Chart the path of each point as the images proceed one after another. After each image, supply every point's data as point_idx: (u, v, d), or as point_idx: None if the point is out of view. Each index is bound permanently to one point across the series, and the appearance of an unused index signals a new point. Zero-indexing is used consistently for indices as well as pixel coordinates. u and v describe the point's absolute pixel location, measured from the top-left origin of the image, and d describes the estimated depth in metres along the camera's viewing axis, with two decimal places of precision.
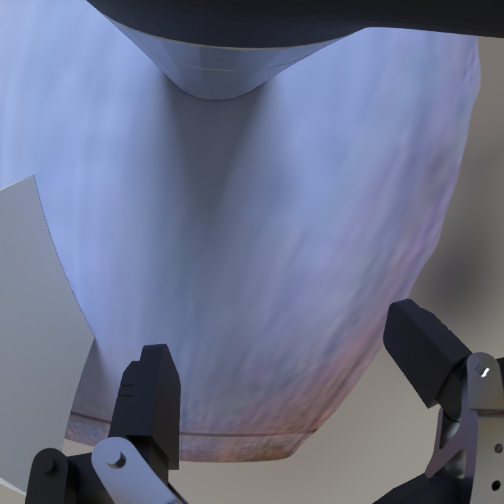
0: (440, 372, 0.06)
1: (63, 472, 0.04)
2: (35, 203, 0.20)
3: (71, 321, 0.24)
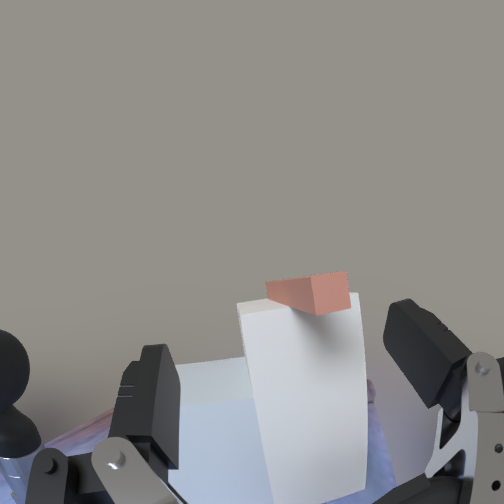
0: (440, 372, 0.06)
1: (63, 472, 0.04)
2: None
3: None
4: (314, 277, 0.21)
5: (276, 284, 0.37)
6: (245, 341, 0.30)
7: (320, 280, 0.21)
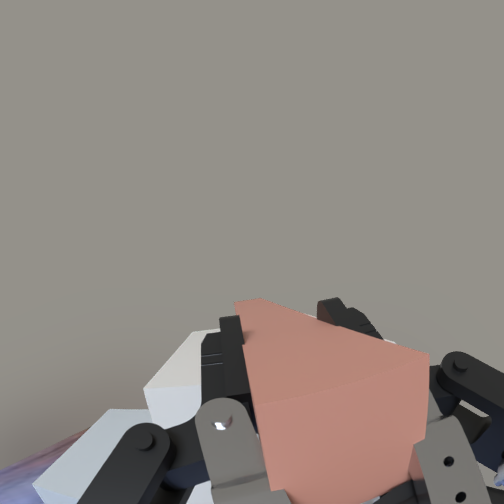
0: None
1: (163, 446, 0.05)
2: None
3: None
4: (277, 406, 0.04)
5: None
6: None
7: (311, 415, 0.04)
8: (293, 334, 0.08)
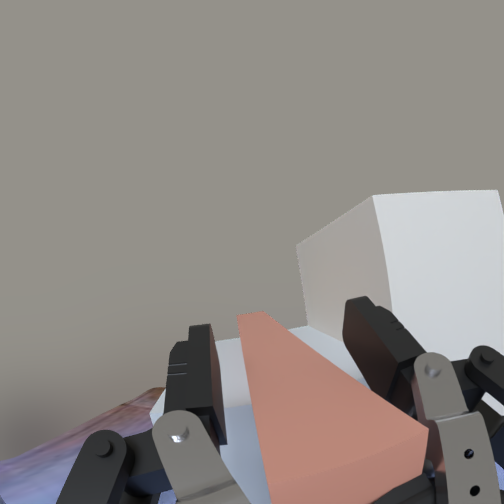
0: (389, 371, 0.07)
1: (121, 453, 0.04)
2: None
3: None
4: (287, 483, 0.03)
5: None
6: (385, 247, 0.14)
7: (317, 487, 0.03)
8: (299, 381, 0.08)
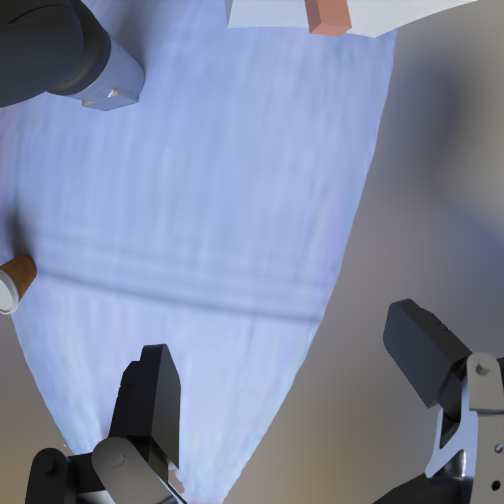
0: (440, 372, 0.06)
1: (63, 472, 0.04)
2: (226, 13, 0.33)
3: None
4: (324, 23, 0.17)
5: None
6: None
7: (328, 25, 0.17)
8: None
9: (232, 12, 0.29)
